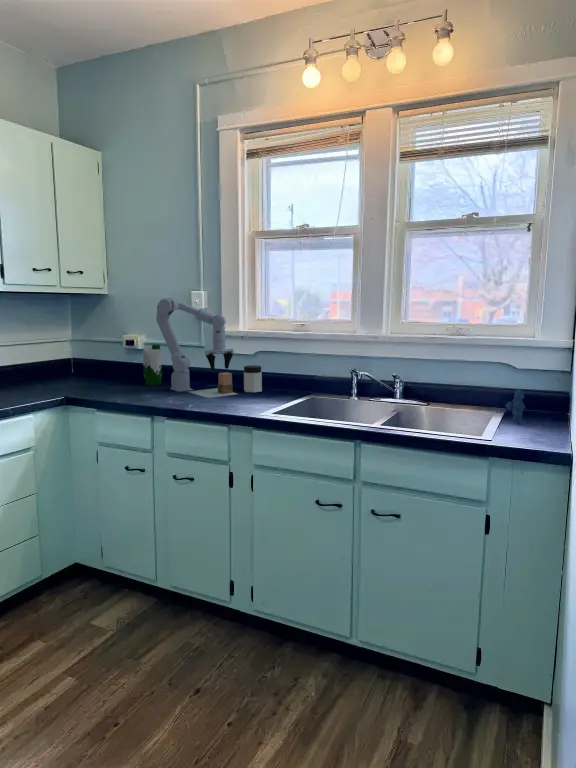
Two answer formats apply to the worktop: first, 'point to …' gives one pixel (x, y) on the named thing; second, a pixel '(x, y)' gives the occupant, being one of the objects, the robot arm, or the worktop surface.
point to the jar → (252, 378)
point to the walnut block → (225, 388)
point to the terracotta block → (225, 378)
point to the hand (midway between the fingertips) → (219, 369)
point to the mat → (210, 393)
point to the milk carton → (152, 365)
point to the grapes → (517, 406)
